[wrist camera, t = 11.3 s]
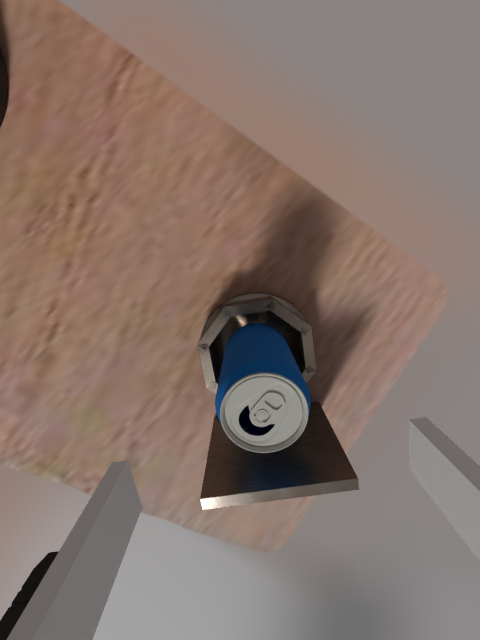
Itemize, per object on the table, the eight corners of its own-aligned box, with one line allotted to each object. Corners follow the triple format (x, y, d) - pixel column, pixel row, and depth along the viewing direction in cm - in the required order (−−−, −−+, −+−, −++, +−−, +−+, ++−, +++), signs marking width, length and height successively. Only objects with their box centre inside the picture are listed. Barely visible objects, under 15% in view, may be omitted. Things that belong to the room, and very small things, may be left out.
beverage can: (213, 355, 30) (193, 422, 18) (250, 308, 28) (255, 346, 17) (261, 390, 31) (271, 475, 19) (299, 345, 29) (336, 406, 18)
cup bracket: (190, 302, 29) (159, 331, 19) (305, 283, 29) (342, 301, 18) (215, 425, 32) (202, 509, 22) (319, 410, 32) (358, 489, 21)
